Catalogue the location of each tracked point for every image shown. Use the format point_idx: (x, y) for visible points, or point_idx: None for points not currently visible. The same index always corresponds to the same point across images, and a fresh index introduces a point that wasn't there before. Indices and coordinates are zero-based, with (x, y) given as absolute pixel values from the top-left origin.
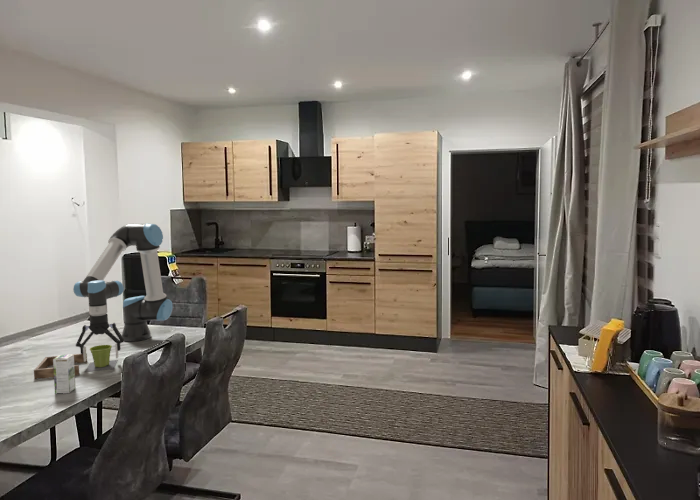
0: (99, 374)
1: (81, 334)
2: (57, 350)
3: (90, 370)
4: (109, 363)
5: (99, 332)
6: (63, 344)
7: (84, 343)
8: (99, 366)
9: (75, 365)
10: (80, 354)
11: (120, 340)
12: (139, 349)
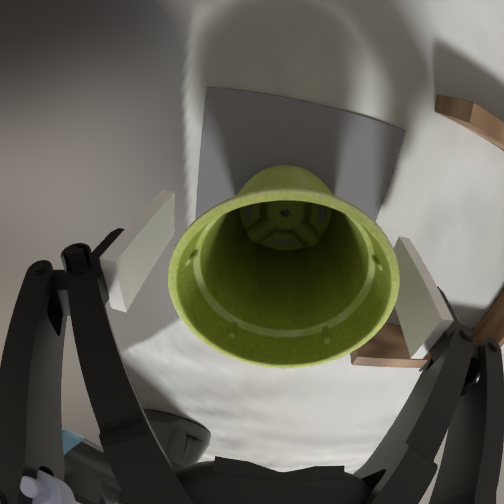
0: (311, 8)
1: (498, 451)
2: (379, 428)
3: (369, 135)
4: None
5: (276, 500)
6: (350, 447)
7: (453, 358)
8: (306, 171)
9: (486, 130)
10: (384, 357)
11: (44, 281)
12: (131, 356)
